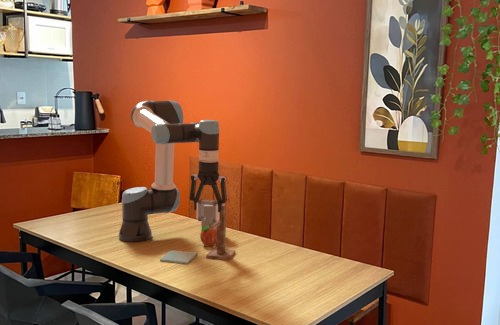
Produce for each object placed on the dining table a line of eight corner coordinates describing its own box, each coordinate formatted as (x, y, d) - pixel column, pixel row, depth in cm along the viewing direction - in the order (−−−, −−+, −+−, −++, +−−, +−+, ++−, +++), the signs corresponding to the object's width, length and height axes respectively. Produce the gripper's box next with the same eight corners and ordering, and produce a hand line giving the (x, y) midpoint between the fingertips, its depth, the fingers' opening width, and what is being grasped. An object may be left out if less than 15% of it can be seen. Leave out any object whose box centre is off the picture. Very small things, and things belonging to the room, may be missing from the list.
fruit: (223, 244, 230) (223, 223, 229) (208, 249, 223) (208, 227, 222) (210, 240, 236) (211, 220, 234) (195, 245, 229) (195, 223, 228)
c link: (198, 221, 195) (198, 200, 194) (200, 219, 198) (200, 199, 197) (215, 222, 194) (215, 202, 193) (217, 220, 197) (218, 200, 195)
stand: (200, 263, 205) (200, 211, 202) (213, 250, 222) (213, 201, 219) (224, 266, 203) (224, 213, 200) (235, 252, 220) (236, 203, 216)
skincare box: (220, 233, 247) (220, 202, 245) (217, 238, 240) (218, 205, 238) (203, 233, 248) (203, 201, 246) (200, 237, 241) (200, 205, 238)
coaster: (159, 261, 207) (159, 259, 207) (171, 252, 219) (171, 250, 219) (187, 263, 205) (187, 262, 205) (197, 254, 216) (197, 252, 216)
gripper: (180, 160, 191) (180, 219, 195) (231, 164, 186) (230, 224, 190) (187, 157, 198) (187, 214, 202) (236, 160, 194) (235, 218, 197)
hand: (207, 219), depth 196 cm, fingers closed on c link, 7 cm apart
